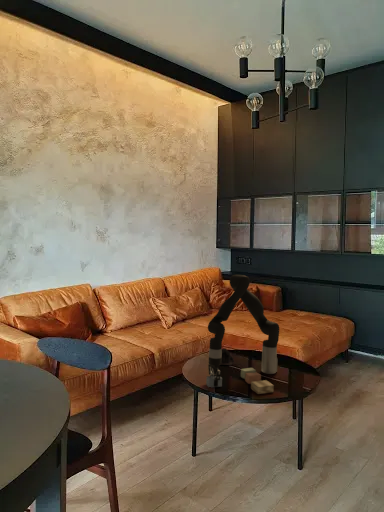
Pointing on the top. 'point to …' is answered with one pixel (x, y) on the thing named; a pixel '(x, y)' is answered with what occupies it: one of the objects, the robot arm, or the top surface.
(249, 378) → the terracotta brick
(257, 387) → the birch brick
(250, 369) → the sage brick
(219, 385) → the slate brick
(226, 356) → the crystal cluster
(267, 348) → the robot arm
